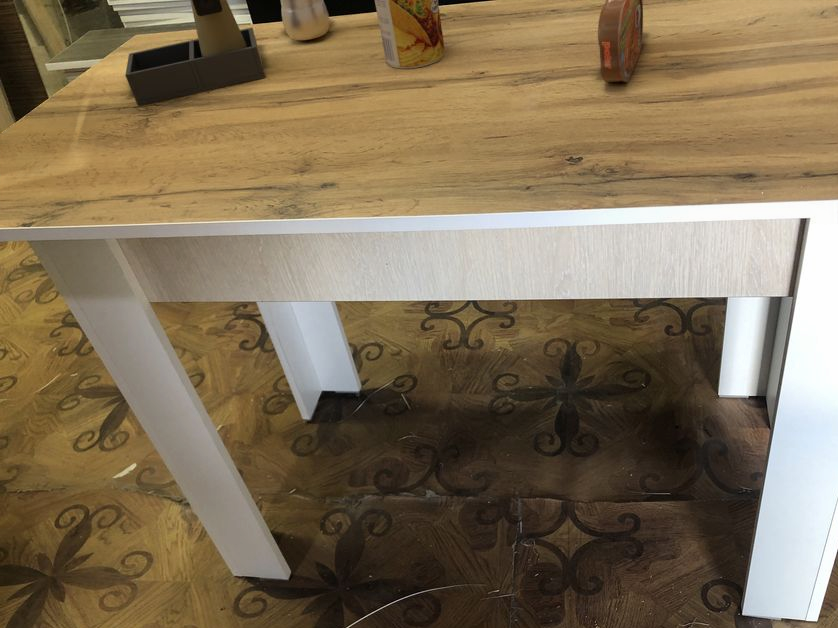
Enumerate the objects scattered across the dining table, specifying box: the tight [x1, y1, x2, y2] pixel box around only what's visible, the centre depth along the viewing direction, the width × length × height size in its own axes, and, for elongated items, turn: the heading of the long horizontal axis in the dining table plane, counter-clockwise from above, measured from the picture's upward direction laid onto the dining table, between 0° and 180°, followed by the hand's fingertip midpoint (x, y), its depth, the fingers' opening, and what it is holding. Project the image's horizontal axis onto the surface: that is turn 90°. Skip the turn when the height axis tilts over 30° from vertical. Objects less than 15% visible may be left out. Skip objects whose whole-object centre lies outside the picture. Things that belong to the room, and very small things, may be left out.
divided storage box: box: [125, 27, 266, 107], centre depth 104 cm, size 17×9×4 cm, turn 106°
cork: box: [189, 0, 247, 57], centre depth 100 cm, size 6×6×11 cm
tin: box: [597, 0, 644, 83], centre depth 88 cm, size 15×3×8 cm, turn 161°
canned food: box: [374, 0, 446, 70], centre depth 98 cm, size 8×8×12 cm
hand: (209, 5), depth 100 cm, fingers closed on cork, 5 cm apart
